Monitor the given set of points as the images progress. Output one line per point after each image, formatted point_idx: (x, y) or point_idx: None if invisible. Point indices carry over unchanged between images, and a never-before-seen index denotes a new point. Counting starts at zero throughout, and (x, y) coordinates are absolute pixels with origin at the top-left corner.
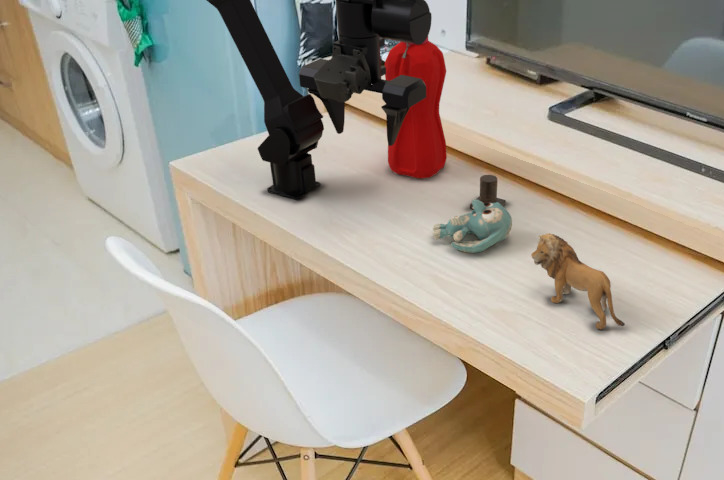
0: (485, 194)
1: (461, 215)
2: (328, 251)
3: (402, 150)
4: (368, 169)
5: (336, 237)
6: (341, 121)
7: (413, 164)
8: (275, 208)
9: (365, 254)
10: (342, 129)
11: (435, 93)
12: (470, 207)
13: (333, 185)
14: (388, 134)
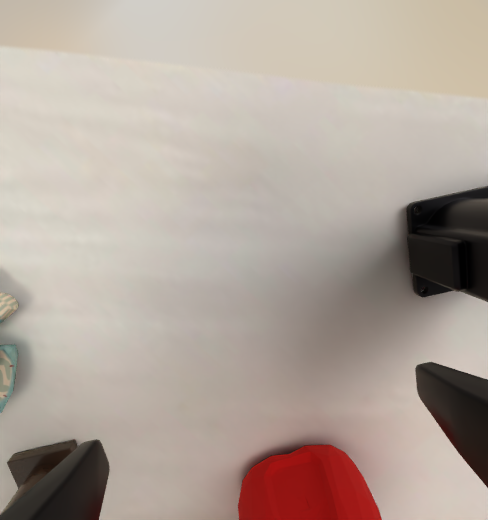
0: (20, 493)
1: (11, 391)
2: (156, 67)
3: (317, 510)
4: (384, 419)
5: (197, 135)
6: (467, 436)
7: (276, 486)
8: (422, 139)
9: (77, 120)
10: (427, 401)
11: None
12: (71, 442)
13: (393, 316)
14: (36, 501)
